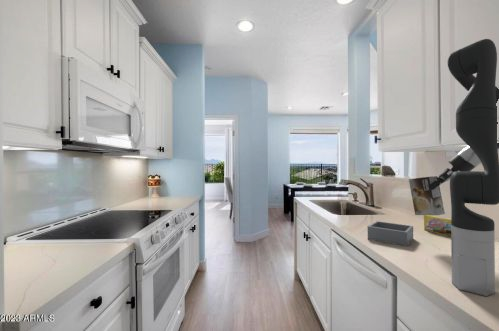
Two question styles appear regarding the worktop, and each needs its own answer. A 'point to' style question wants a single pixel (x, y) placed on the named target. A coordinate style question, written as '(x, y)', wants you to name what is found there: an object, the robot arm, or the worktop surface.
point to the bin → (390, 233)
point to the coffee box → (426, 197)
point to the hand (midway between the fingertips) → (431, 187)
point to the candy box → (437, 225)
